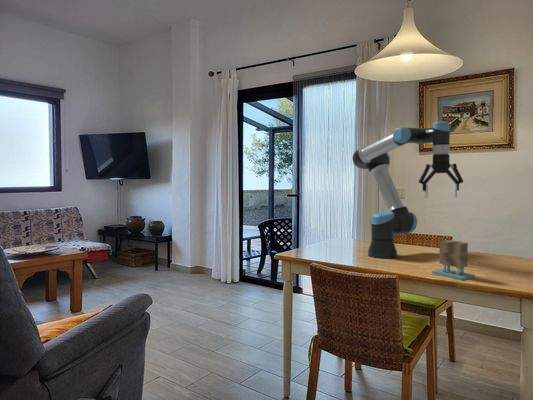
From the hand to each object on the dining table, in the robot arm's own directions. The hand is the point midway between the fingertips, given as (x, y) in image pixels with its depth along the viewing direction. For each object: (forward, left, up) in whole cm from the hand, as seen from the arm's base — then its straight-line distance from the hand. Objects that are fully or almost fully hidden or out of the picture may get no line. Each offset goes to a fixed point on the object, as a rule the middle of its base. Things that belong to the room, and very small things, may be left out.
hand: (440, 197), depth 195 cm
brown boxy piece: (-3, -27, -27) cm, 38 cm away
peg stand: (-3, -27, -32) cm, 42 cm away
